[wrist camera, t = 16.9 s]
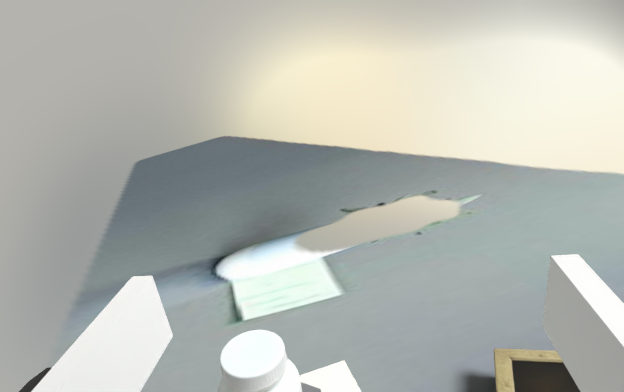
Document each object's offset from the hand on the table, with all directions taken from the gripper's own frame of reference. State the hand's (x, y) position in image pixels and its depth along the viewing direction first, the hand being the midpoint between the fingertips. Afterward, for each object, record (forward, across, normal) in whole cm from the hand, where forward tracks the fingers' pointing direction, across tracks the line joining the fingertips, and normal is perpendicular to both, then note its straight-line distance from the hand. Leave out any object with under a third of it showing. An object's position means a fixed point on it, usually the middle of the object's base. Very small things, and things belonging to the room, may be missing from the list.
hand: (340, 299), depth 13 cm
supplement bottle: (+7, -7, -19) cm, 21 cm away
